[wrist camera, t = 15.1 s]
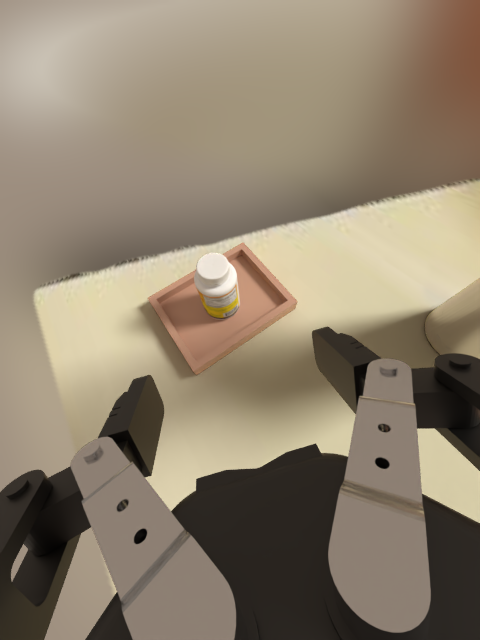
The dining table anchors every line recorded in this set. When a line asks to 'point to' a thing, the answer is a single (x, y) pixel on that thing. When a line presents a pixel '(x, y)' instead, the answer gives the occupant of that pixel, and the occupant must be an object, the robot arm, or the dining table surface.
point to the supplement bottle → (217, 286)
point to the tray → (224, 335)
